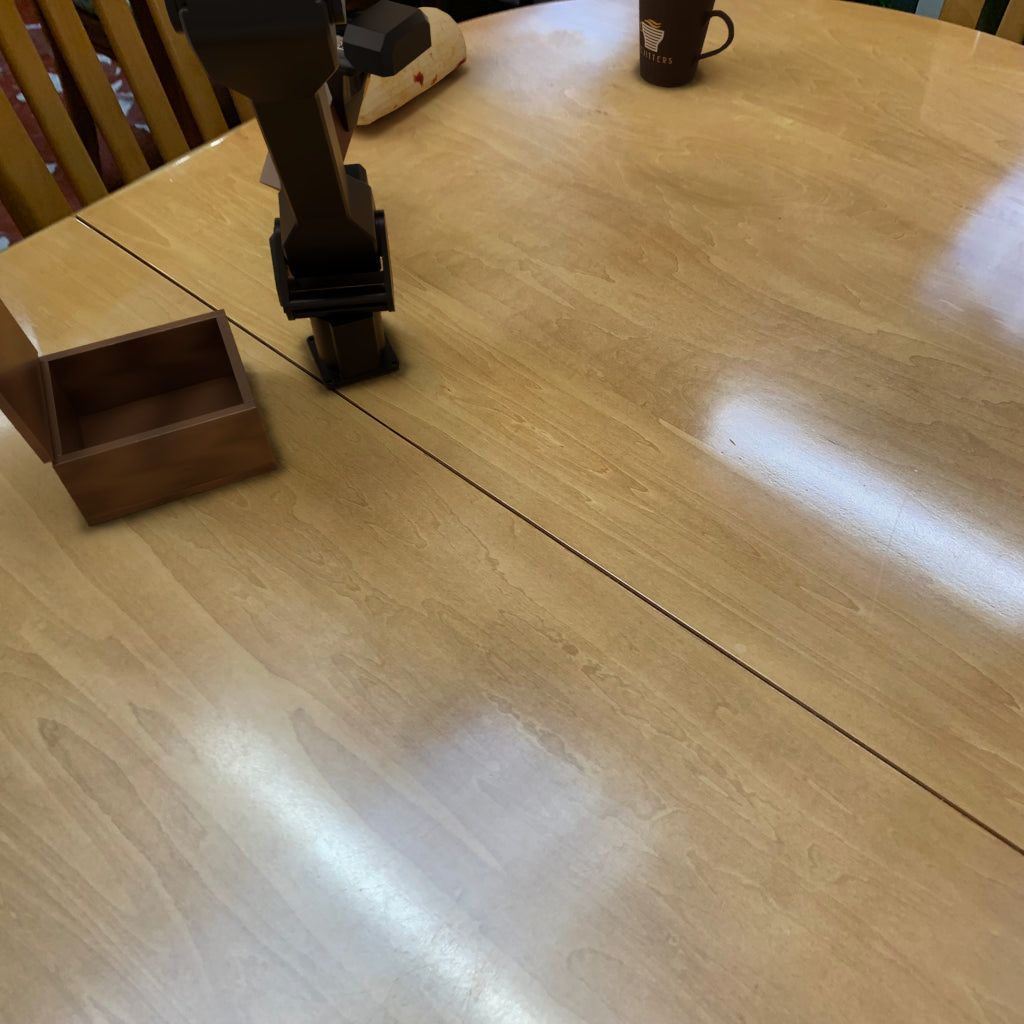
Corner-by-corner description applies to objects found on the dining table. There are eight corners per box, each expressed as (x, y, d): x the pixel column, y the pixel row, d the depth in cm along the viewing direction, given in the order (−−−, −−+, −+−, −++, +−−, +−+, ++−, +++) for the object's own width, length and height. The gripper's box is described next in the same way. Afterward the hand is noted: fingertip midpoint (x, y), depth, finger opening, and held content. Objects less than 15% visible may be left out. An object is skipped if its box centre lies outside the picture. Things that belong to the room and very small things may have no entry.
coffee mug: (618, 61, 109) (626, -30, 101) (686, 49, 110) (699, -41, 102) (657, 110, 102) (669, 17, 94) (729, 98, 103) (746, 4, 95)
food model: (362, 150, 99) (474, 76, 109) (362, 93, 93) (481, 21, 103) (293, 108, 101) (410, 39, 111) (290, 50, 95) (413, -17, 106)
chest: (244, 371, 77) (223, 308, 72) (277, 469, 71) (257, 407, 65) (71, 419, 74) (35, 357, 69) (89, 526, 68) (51, 466, 62)
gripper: (464, -104, 66) (473, 106, 78) (258, -148, 72) (297, 54, 84) (375, -46, 60) (400, 171, 72) (159, -98, 66) (216, 111, 78)
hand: (327, 122), depth 77 cm, fingers closed on chocolate box, 4 cm apart
